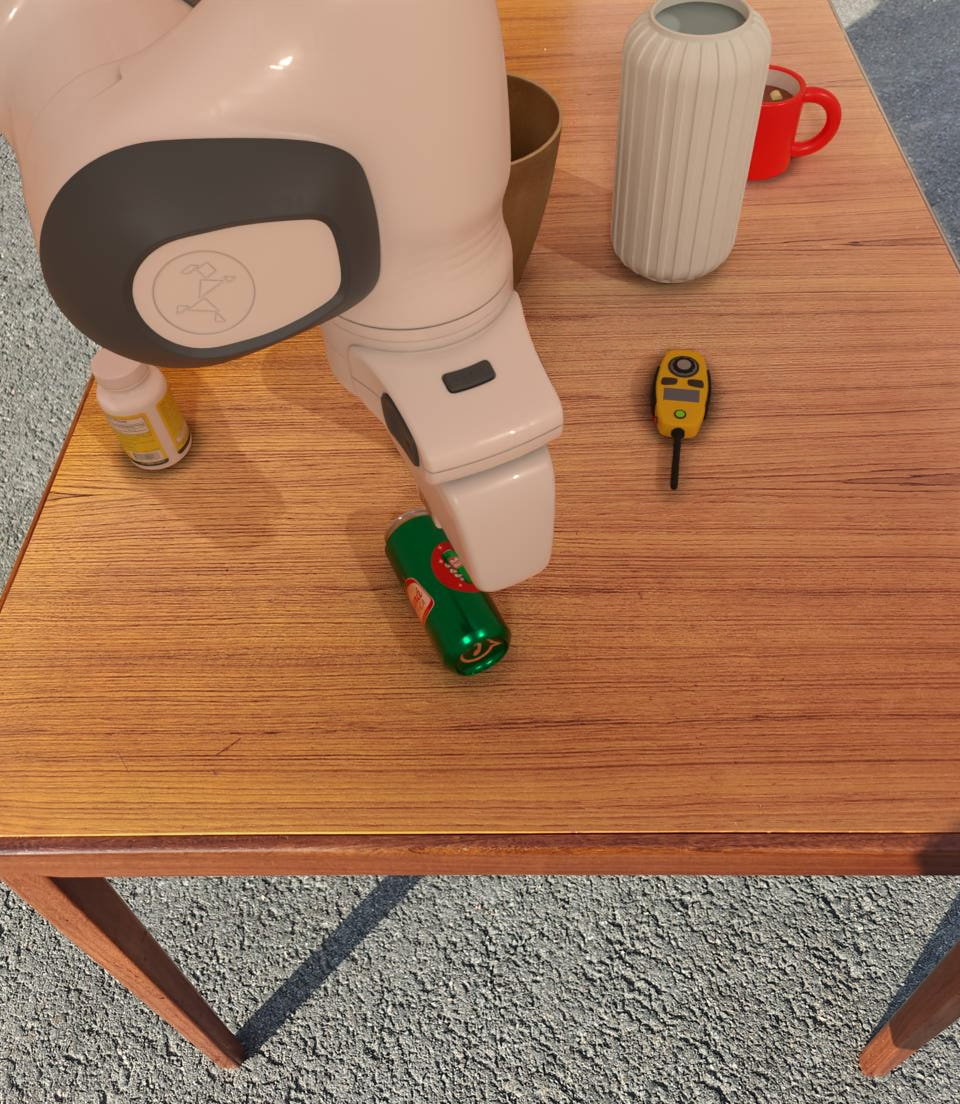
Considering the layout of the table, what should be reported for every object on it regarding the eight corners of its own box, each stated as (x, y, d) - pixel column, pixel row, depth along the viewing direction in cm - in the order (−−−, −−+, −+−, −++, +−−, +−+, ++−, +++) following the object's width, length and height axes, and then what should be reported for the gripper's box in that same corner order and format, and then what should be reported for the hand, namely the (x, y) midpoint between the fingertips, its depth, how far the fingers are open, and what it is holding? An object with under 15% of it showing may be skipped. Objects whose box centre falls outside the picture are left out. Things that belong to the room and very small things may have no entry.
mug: (835, 179, 94) (857, 103, 88) (715, 180, 95) (728, 105, 89) (824, 136, 99) (843, 62, 93) (710, 138, 100) (721, 64, 94)
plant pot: (379, 261, 91) (352, 102, 78) (513, 213, 94) (508, 52, 81) (445, 351, 82) (427, 189, 70) (589, 295, 86) (598, 131, 73)
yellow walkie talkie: (714, 348, 78) (708, 482, 70) (711, 365, 80) (704, 499, 71) (656, 343, 79) (643, 476, 70) (654, 360, 80) (641, 493, 72)
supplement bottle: (173, 414, 80) (133, 325, 72) (205, 449, 77) (166, 360, 69) (117, 446, 78) (68, 358, 70) (147, 483, 75) (100, 396, 67)
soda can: (452, 690, 63) (386, 562, 70) (518, 657, 64) (447, 534, 70) (441, 655, 59) (372, 523, 65) (512, 621, 60) (437, 493, 66)
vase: (740, 293, 85) (792, 44, 67) (614, 299, 85) (632, 53, 67) (720, 218, 92) (763, -27, 74) (603, 224, 92) (618, -18, 74)
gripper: (281, 217, 47) (328, 410, 58) (442, 491, 36) (463, 666, 47) (395, 182, 49) (420, 378, 60) (585, 436, 37) (573, 619, 48)
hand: (440, 507), depth 53 cm, fingers closed
